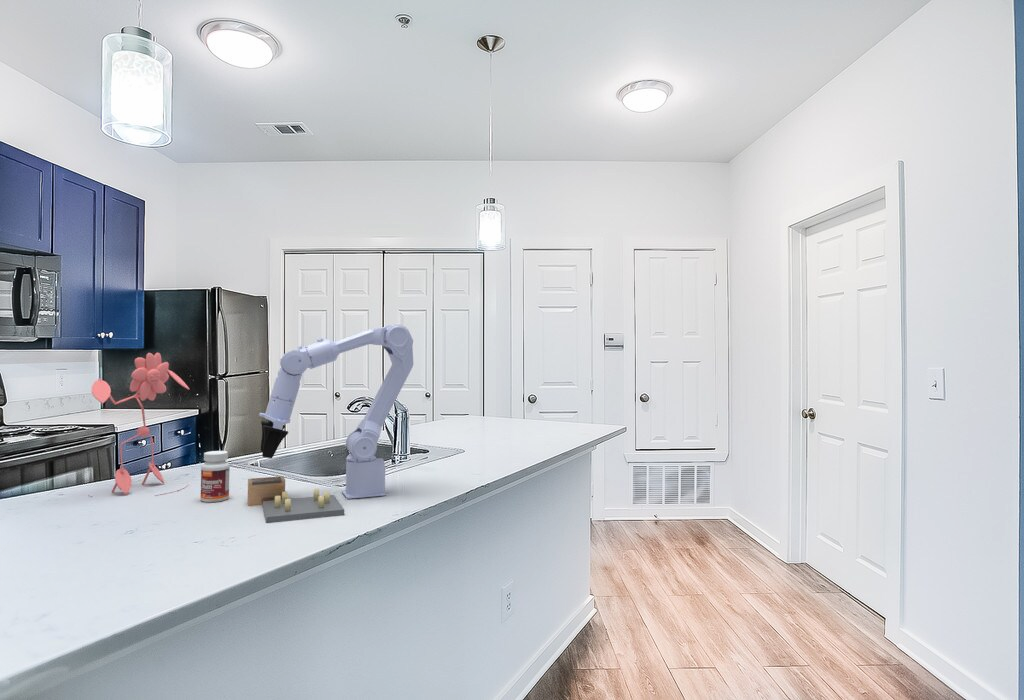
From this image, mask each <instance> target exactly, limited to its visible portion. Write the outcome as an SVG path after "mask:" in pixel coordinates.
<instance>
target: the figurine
mask: <svg viewBox="0 0 1024 700" xmlns="http://www.w3.org/2000/svg"><path fill="white" fill-rule="evenodd" d="M134 365H135V368H136V369H135V370H134V371H132V373H131V376H130V377H131V379H132V380H131V382H130V386H129V391H130V392H136V393H134V394H133V395H132V396H129V397H126V398H123V399H120V400H118V401H116V400H115V399H114V398H113V396H112V395H111V392H112V390H111V387H110V385H109V383H108V382H107V381H105V380H102V379H103V378H98V379H97V380H95V381H94V382H93V383H92V386H91V394H92V396H93V397H94V398H95V400H97V401H98V402H99V403H101V404H104V403H105V402H107V400H108V399H110V401H111V403H112V404H114V406H116V405H119V404H121V403H124V402H127V401H129V400H131V399H136V401H137V402H138V404H139V406H140V408H141V414H142V415H141V416H142V422H143V423H142V424H143V426H139V427H138V428H137V430H136V433H137V434H136V435H134V436H132V437H130V438H129V439H127V440H124V441H122V442H121V443H119V453H120V454H119V455H120V467H121V468H119V469H117V470H116V471H115V474H114V475H115V476H114V480H115V481H114V482H115V484H114V486H113V487H112V489H111V493H114V492H115V490H116V489H117V487H118V489H119V490H120V491H121V492H122V493H123V494H124V495H125V496H127V494H128V493H129V492H130V490H131V488H132V482H133V481H132V476H131V475H130V473H129V472H128V470H126V468H124V465H123V464H124V463H123V462H124V461H123V450H122V445H123V444H126V443H127V442H130V441H131V440H133V439H135V438H137V437H141V438H144V437H147V436H149V438H150V440H151V461H149V462H148V467H149V468H148V470H147V472H146V474H145V477H143V480H142V482H141V485H143V484H144V485H145V483H146V481H147V478H148V477H149V474H150V473H151V472H152V474H153V475H154V477H155V478H156V479H157V480H159V482H161V483H162V484H164V485H165V480H164V478H163V475H162V474H161V472H160V470H159V469H158V467H157V466H156V465H155V464H154V438H153V437H152V435H151V433H150V432H151V430H150V428H149V427H148V426H146V417H145V408H144V405H143V404H142V402H143V401H146V400H147V399H148V400H149V401H152V402H153V401H154V400H156V397H157V394H164V393H165V392H167V386H166V385H165V383H166V382H167V381H168V380H169V378H170V376H171V378H173V380H174V381H175V382H176V383H178V385H180V386H181V387H183V388H185V389H187V390H188V391H190V387H189V386H188V385H187V383H185V381H184V380H183V379H182V378H181V377H180V376H178V374H176V373H175V372H174V371H172V370H169V368H170V367H169V366H170V363H169V362H168V361H164V362H162V355H161V353H160V352H156V353H155V354H153V353H151V352H148V353H147V354H146V355H145V358H144V357H141V356H140V357H138V356H137V358H134ZM186 483H187V484H188V485H186V486H185V487H183V488H180V489H177V490H175V491H170V492H166V493H161V494H160V493H159V496H162V495H163V496H164V495H167V494H173V493H175V492H180V491H182V490H183V489H186V488H187V487H190V485H189V482H188V481H187V482H186ZM154 496H155V497H156V496H158V494H157V495H156V494H155V495H154ZM88 497H90V498H93V496H91V495H88Z"/></svg>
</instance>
